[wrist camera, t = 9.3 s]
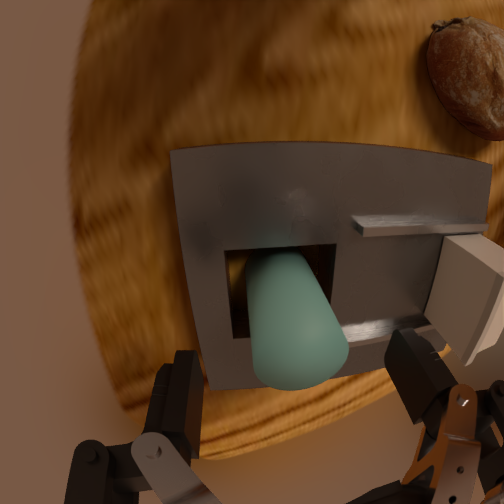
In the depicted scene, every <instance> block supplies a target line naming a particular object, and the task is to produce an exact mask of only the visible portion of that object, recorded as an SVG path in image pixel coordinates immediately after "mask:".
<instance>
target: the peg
mask: <svg viewBox="0 0 504 504" xmlns="http://www.w3.org/2000/svg"><path fill="white" fill-rule="evenodd" d="M245 278H246V290H247V301H248V313H249V325H250V336H251V347H252V358H253V368H254V372H255V374H256V376H257V378H258V379H259V380H260V381H261V382H263V383H264V384H266V385H267V386H269V387H272V388H275V389H279V390H287V391H293V390H302V389H307V388H310V387H313V386H316V385H318V384H321V383H323V382H324V381H326V380H328V379H329V378H331V377H332V376H333V375H335V374H336V373H337V372H338V371H339V370H340V369H341V367H342V366H343V365H344V363H345V361H346V359H347V356H348V352H349V345H348V341H347V339H346V337H345V335H344V332H343V330H342V328H341V326H340V324H339V322H338V320H337V318H336V316H335V314H334V313H333V311H332V309H331V307H330V305H329V303H328V301H327V299H326V297H325V295H324V293H323V291H322V289H321V287H320V285H319V283H318V282H317V280H316V278H315V276H314V274H313V272H312V270H311V268H310V266H309V265H308V263H307V261H306V259H305V257H304V255H303V254H302V252H301V251H300V250H299V249H298V248H297V247H295V246H286V247H270V248H257V249H256V250H255V251H254V252H253V253H252V254H251V255H250V257H249V258H248V260H247V263H246V267H245Z"/></svg>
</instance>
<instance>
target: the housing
mask: <svg viewBox="0 0 504 504" xmlns="http://www.w3.org/2000/svg"><path fill="white" fill-rule="evenodd" d="M170 159H171V169H172V179H173V188H174V197H175V205H176V213H177V221H178V228H179V235H180V242H181V248H182V255H183V261H184V267H185V273H186V279H187V284H188V290H189V295H190V300H191V306H192V311H193V316H194V321H195V326H196V330H197V335H198V340H199V344H200V349H201V353H202V357H203V362H204V366H205V370H206V374H207V378H208V382H209V386H210V390H233V389H251V388H264V387H269V386H267V385H266V384H264V383H263V382H261V381H260V380H259V379H258V378H257V376H256V374H255V372H254V368H253V358H252V347H251V336H250V325H249V313H248V309H244V310H233V306H232V296H231V286H230V276H229V265H228V254H227V250H240V249H255V248H270V247H286V246H302V245H317V244H320V248H319V264H318V278H317V282H318V283H319V285H320V287H321V289H322V291H323V293H324V295H325V297H326V299H327V301H328V303H329V305H330V307H331V309H332V311H333V313H334V314H335V316H336V318H337V320H338V322H339V324H340V326H341V328H342V330H343V332H344V335H345V337H346V339H347V341H348V345H349V352H348V356H347V359H346V361H345V363H344V365H343V366H342V367H341V369H340V370H339V371H338V372H337V373H336V374H335V375H333V376H332V377H331V378H329V379H333V378H339V377H344V376H349V375H354V374H359V373H364V372H368V371H373V370H377V369H381V368H385V364H384V355H385V352H386V350H387V347H388V344H389V341H390V338H391V335H392V333H393V331H394V330H396V329H400V328H405V327H412V328H413V329H414V330H415V332H416V333H417V335H418V336H422V337H423V338H425V339H426V340H427V341H429V342H430V343H431V344H432V346H433V347H434V349H435V350H436V353H437V352H440V351H443V350H444V348H445V346H446V343H447V342H446V341H445V340H444V339H443V337H442V336H441V335H440V334H439V332H438V331H437V330H436V329H435V328H434V326H433V325H432V324H431V323H430V322H429V320H428V319H427V318H426V317H425V316H424V312H425V309H426V306H427V303H428V300H429V297H430V293H431V290H432V286H433V283H434V279H435V275H436V271H437V267H438V263H439V259H440V255H441V250H442V245H443V240H444V236H453V235H471V234H481V235H483V231H488V227H489V224H488V223H486V222H485V220H486V214H487V208H488V201H489V194H490V185H491V176H492V164H488V163H485V162H481V161H477V160H473V159H469V158H465V157H460V156H455V155H450V154H444V153H439V152H432V151H426V150H419V149H412V148H404V147H396V146H386V145H376V144H363V143H348V142H326V141H264V142H241V143H226V144H213V145H202V146H192V147H183V148H178V149H174V150H171V151H170Z"/></svg>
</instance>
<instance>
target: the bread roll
mask: <svg viewBox="0 0 504 504" xmlns="http://www.w3.org/2000/svg"><path fill="white" fill-rule="evenodd" d="M434 26H435V31H433V33H432V35H431V39H430V41H429V47H428V50H427V68H428V72H429V76H430V79H431V81H432V84H433V86H434V89H435V91H436V93H437V95H438V97H439V99H440V101H441V102H442V104H443V106H444V108H445V109H446V110H447V111H448V112H449V113H451V115H452V116H453V117H455V118H456V119H457V120H458V121H459V122H460V123H461V124H462V125H464V126H465V127H466V128H467V129H468V130H469V131H471V132H472V133H474V134H477V135H478V136H480V137H481V138H483V139H486V140H492V141H502V140H504V31H503V30H502V29H500V28H498V27H497V26H495V25H493V24H491V23H489V22H486V21H484V20H482V19H476V18H474V17H471V16H469V17H467V18H457V17H456V18H454V19H451V21H443V20H438V21H436V22H435V23H434Z"/></svg>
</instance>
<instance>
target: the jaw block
mask: <svg viewBox="0 0 504 504" xmlns="http://www.w3.org/2000/svg"><path fill="white" fill-rule="evenodd" d="M424 316H425V317H426V318H427V319H428V320H429V322H430V323H431V324H432V325H433V326H434V328H435V329H436V330H437V331H438V332H439V334H440V335H441V336H442V337H443V339H444V340H445V341H446V342H447V344H448V345H449V346H450V347H451V349H452V350H453V351H454V353H455V354H456V355H457V356H458V358H459V359H460V360H461V362H462V363H463V364H464V366H466V365H468V364H471V362H472V361H473V359H474V357H475V355H476V354H477V352H480V351H481V350H484V349H486V348H488V347H490V346H492V345H494V344H495V343H496V342H497V340H498V337H499V336H500V334H501V332H502V330H503V327H504V249H503V248H502V247H500V246H499V245H497V244H496V243H494V242H492V241H491V240H489V239H487V238H486V237H484V236H482V235H481V234H471V235H453V236H444V240H443V245H442V250H441V255H440V259H439V263H438V267H437V271H436V275H435V279H434V283H433V286H432V290H431V293H430V297H429V300H428V303H427V306H426V309H425V312H424Z"/></svg>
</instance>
